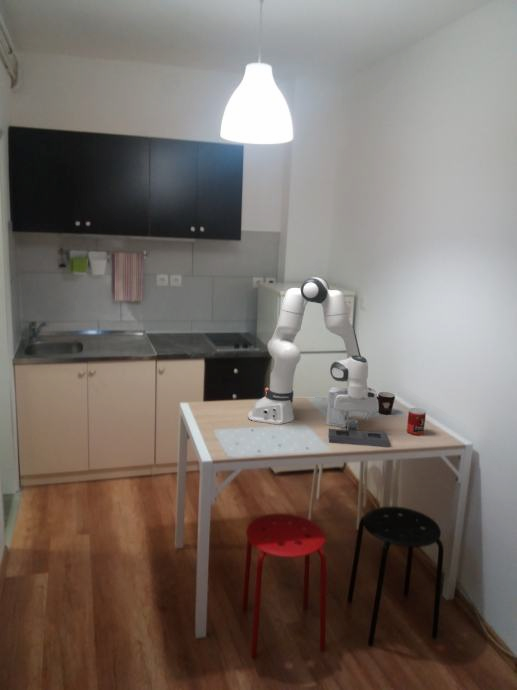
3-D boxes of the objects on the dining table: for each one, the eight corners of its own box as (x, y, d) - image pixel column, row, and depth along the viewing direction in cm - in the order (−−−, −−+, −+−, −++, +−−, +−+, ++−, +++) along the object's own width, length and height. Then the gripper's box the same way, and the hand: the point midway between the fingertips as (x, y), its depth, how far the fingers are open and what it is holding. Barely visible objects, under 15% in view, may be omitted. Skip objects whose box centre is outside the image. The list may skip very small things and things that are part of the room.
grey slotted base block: (328, 442, 253) (329, 436, 252) (328, 434, 261) (328, 428, 261) (388, 447, 251) (389, 440, 250) (385, 439, 260) (386, 433, 259)
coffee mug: (395, 412, 296) (397, 394, 294) (389, 417, 289) (391, 398, 287) (374, 407, 302) (376, 389, 300) (368, 412, 295) (370, 393, 293)
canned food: (414, 436, 265) (417, 414, 262) (402, 430, 271) (405, 408, 269) (427, 434, 268) (429, 412, 266) (415, 428, 275) (417, 406, 272)
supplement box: (348, 421, 280) (351, 388, 276) (345, 427, 271) (348, 393, 268) (329, 418, 283) (332, 385, 279) (325, 424, 274) (328, 391, 270)
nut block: (347, 434, 263) (348, 421, 262) (347, 431, 267) (348, 418, 266) (356, 435, 263) (357, 422, 261) (355, 432, 267) (356, 419, 265)
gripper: (334, 392, 259) (333, 421, 262) (380, 394, 258) (378, 423, 261) (333, 388, 265) (332, 416, 268) (378, 390, 264) (376, 418, 267)
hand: (355, 420), depth 264 cm, fingers open, 8 cm apart
